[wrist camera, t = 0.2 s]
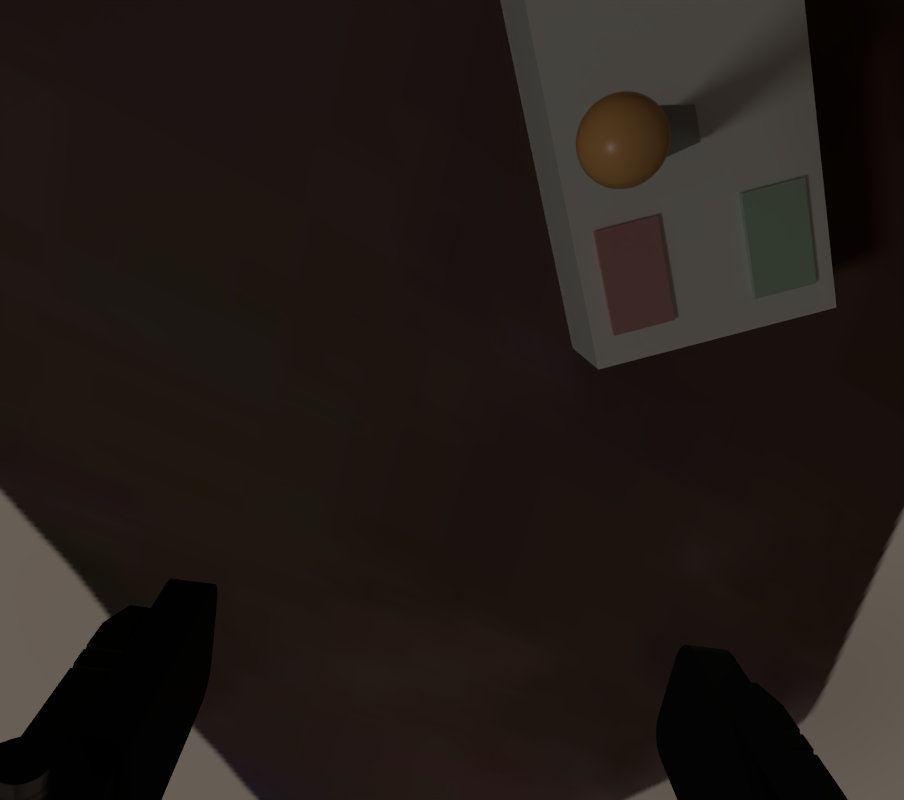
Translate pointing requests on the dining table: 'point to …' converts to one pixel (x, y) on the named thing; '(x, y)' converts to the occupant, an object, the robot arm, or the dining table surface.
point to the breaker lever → (632, 138)
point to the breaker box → (678, 169)
